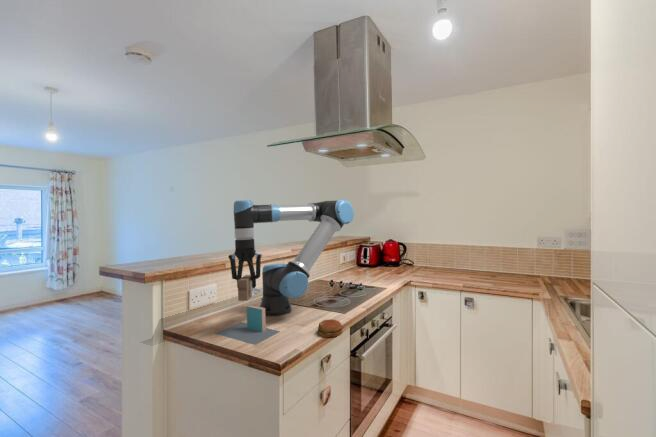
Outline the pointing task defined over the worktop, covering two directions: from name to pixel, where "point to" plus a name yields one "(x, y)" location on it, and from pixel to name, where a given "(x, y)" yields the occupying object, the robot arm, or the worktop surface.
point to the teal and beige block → (256, 318)
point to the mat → (246, 333)
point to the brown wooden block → (245, 288)
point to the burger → (330, 328)
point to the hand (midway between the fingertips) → (247, 295)
